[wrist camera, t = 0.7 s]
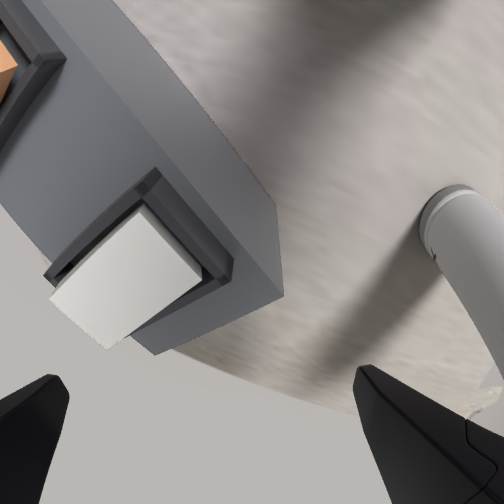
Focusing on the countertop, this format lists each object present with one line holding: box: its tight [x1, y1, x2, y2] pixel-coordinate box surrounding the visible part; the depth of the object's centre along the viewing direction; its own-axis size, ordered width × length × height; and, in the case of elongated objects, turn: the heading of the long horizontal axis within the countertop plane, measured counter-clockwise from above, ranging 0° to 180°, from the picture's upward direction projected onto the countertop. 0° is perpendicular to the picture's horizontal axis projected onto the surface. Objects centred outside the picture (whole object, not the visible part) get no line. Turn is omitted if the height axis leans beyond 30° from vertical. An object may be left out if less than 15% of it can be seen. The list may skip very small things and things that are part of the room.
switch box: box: [0, 0, 284, 355], centre depth 13 cm, size 8×20×10 cm, turn 35°
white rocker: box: [49, 202, 202, 350], centre depth 11 cm, size 5×3×1 cm, turn 125°
